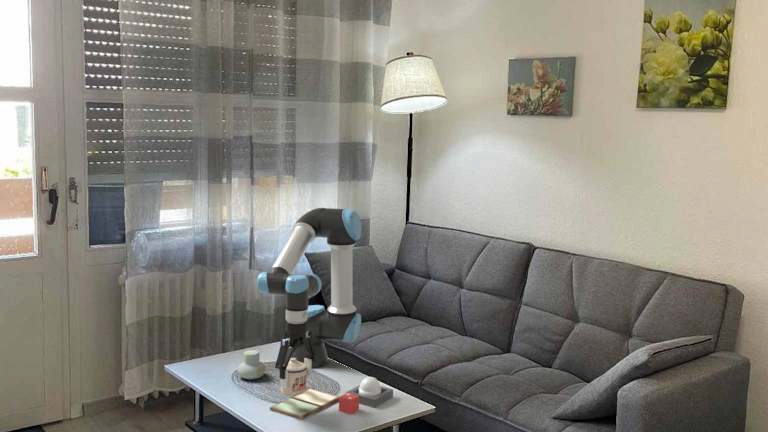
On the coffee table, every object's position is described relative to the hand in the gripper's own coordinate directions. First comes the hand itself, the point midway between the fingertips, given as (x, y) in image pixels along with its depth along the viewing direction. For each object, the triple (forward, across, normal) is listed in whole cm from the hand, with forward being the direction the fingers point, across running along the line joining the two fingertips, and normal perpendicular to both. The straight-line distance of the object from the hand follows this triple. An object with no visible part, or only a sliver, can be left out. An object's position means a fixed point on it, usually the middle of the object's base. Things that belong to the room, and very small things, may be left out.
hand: (296, 382), depth 255 cm
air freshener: (+10, +15, +34) cm, 38 cm away
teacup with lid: (+3, 0, 0) cm, 3 cm away
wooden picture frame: (+10, +6, 0) cm, 11 cm away
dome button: (+9, +24, -15) cm, 29 cm away
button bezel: (+10, +24, -15) cm, 30 cm away
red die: (+10, +11, -15) cm, 21 cm away
